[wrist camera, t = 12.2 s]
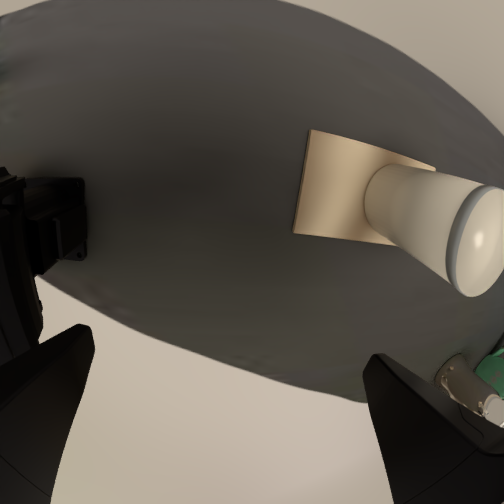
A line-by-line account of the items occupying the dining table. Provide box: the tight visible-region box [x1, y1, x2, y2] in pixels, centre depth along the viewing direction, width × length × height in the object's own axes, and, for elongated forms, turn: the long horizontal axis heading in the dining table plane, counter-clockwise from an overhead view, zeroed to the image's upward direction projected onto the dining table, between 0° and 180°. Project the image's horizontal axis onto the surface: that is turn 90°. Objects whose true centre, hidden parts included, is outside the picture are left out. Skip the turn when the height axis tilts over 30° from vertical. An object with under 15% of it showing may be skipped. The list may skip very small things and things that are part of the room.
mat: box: [292, 130, 436, 246], centre depth 19 cm, size 12×8×1 cm, turn 82°
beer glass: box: [435, 354, 504, 427], centre depth 24 cm, size 7×7×15 cm
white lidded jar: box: [365, 164, 504, 297], centre depth 15 cm, size 6×6×10 cm
